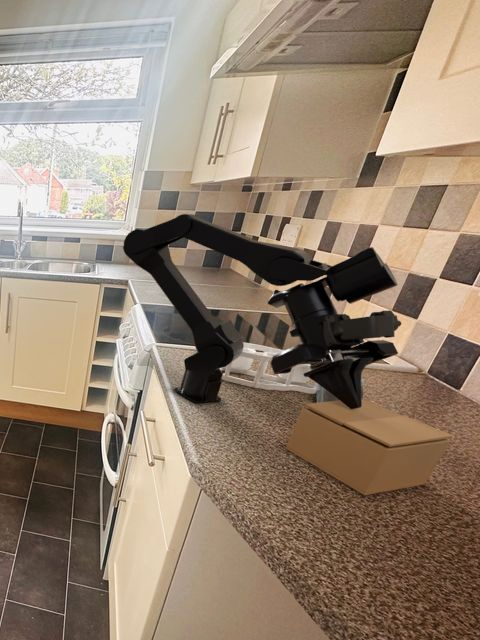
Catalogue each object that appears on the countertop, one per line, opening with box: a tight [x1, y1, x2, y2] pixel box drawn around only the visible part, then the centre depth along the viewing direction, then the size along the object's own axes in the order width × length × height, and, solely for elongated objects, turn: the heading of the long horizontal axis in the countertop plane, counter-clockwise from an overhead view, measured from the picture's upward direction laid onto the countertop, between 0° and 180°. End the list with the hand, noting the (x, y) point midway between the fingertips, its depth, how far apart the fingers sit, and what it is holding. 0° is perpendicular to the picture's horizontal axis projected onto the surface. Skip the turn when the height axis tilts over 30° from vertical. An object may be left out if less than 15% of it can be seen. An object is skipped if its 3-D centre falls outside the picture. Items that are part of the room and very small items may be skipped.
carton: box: [285, 407, 454, 496], centre depth 63 cm, size 12×12×8 cm
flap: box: [303, 398, 402, 425], centre depth 64 cm, size 6×12×1 cm, turn 104°
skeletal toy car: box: [220, 342, 318, 395], centre depth 93 cm, size 20×11×7 cm, turn 54°
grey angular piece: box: [315, 378, 364, 403], centre depth 84 cm, size 10×7×12 cm
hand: (356, 408), depth 63 cm, fingers closed
